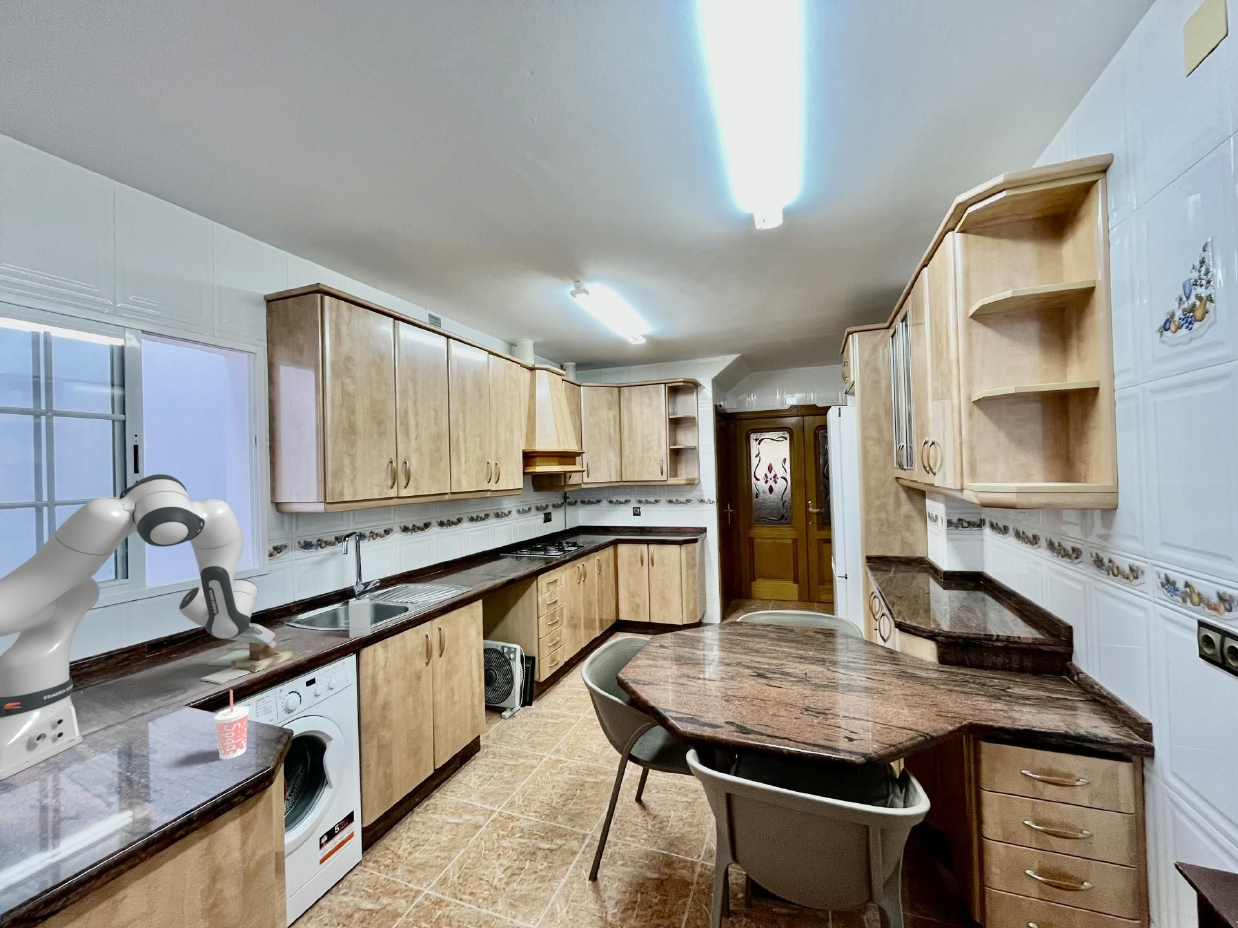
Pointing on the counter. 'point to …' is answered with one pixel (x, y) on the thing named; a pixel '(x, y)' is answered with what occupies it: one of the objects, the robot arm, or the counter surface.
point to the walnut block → (261, 650)
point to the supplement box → (359, 618)
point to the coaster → (229, 658)
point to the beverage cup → (232, 730)
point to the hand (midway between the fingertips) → (264, 644)
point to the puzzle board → (248, 666)
